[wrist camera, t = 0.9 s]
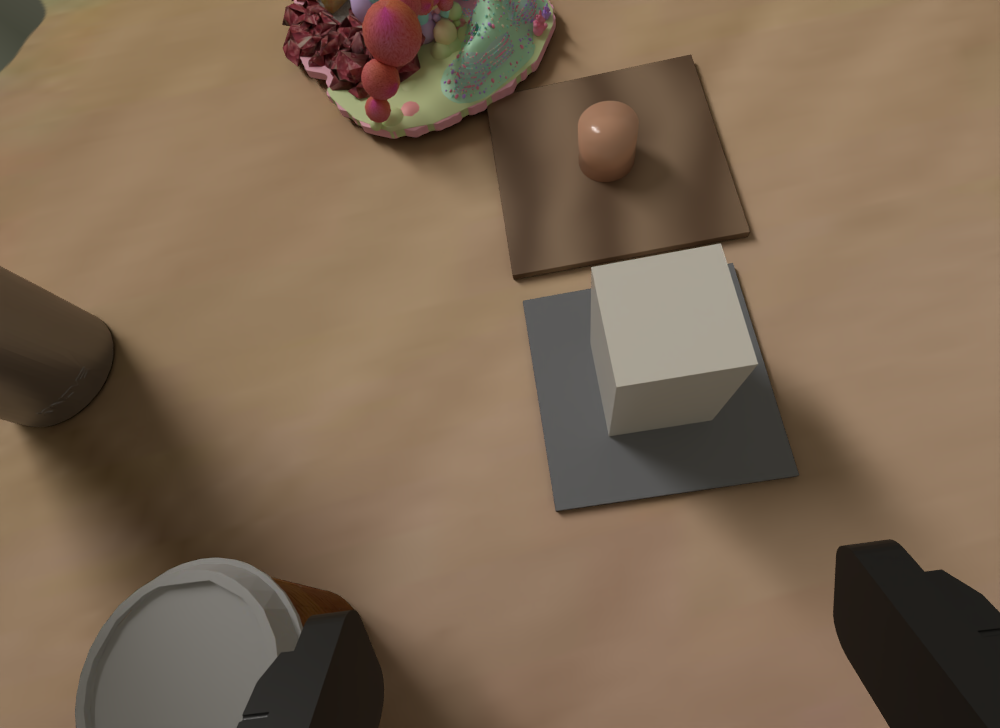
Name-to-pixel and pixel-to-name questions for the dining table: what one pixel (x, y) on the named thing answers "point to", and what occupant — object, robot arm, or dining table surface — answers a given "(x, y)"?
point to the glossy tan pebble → (607, 140)
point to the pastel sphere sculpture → (417, 56)
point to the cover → (667, 339)
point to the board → (625, 202)
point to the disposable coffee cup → (193, 646)
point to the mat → (646, 454)
